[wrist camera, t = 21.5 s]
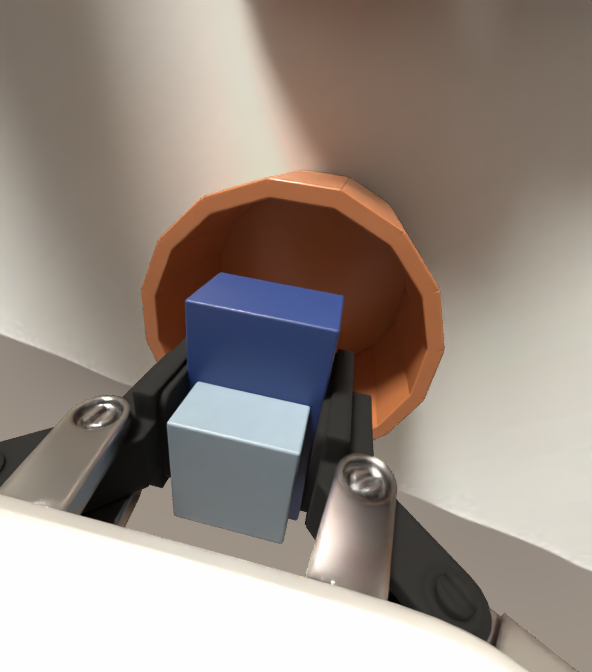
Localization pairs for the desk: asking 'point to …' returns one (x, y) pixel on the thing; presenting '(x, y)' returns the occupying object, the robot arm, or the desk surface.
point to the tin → (312, 275)
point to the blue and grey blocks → (250, 402)
